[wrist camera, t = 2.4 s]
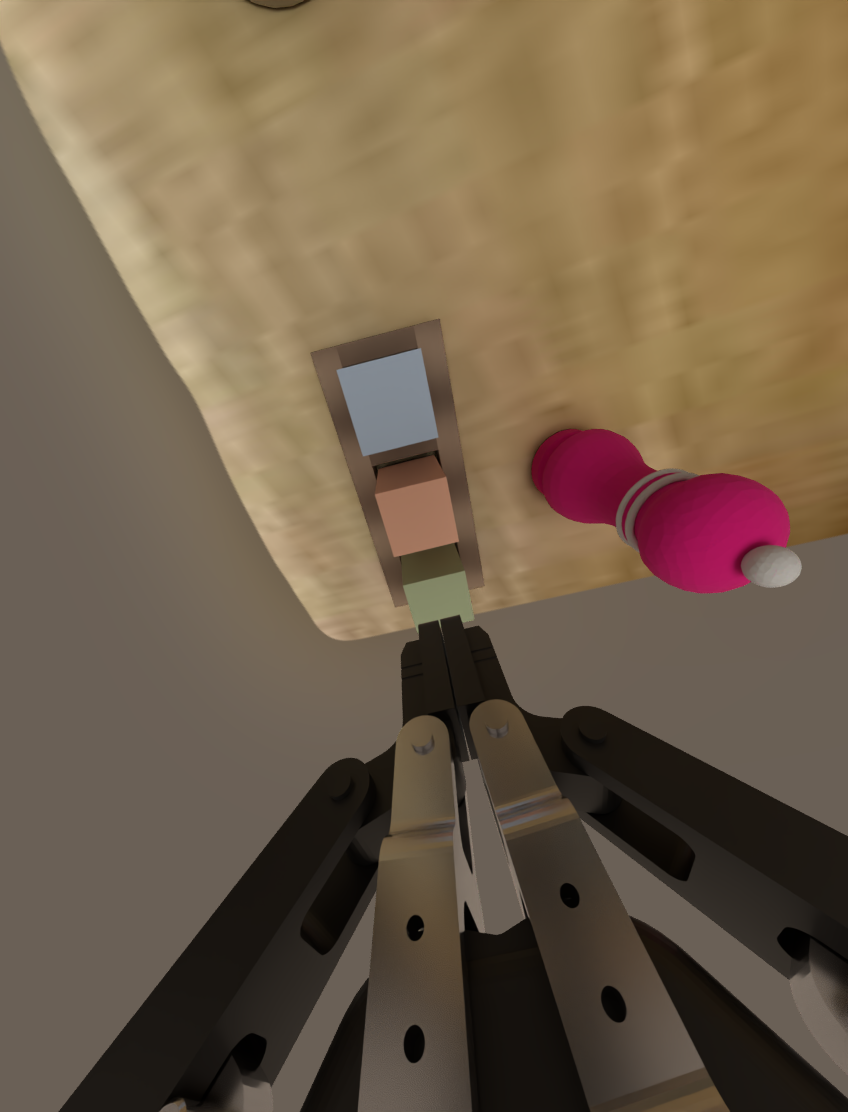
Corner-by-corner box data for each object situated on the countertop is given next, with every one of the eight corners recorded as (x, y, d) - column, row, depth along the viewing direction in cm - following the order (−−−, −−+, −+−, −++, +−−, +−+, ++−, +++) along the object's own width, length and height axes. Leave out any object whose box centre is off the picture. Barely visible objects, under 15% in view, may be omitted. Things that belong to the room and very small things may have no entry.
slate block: (350, 372, 24) (336, 370, 18) (413, 356, 24) (420, 347, 18) (369, 438, 26) (363, 456, 20) (427, 423, 26) (438, 437, 20)
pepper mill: (614, 472, 32) (892, 587, 14) (546, 516, 33) (721, 670, 16) (584, 404, 29) (890, 444, 11) (511, 457, 30) (678, 565, 13)
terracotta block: (378, 468, 27) (374, 494, 21) (433, 454, 27) (446, 476, 21) (393, 520, 29) (393, 557, 23) (444, 507, 29) (459, 541, 23)
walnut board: (318, 355, 25) (310, 352, 23) (434, 325, 25) (439, 318, 23) (394, 590, 36) (395, 607, 33) (477, 570, 36) (484, 586, 33)
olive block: (400, 543, 31) (402, 585, 24) (449, 531, 30) (464, 570, 24) (412, 585, 33) (417, 633, 27) (458, 574, 33) (474, 619, 26)
